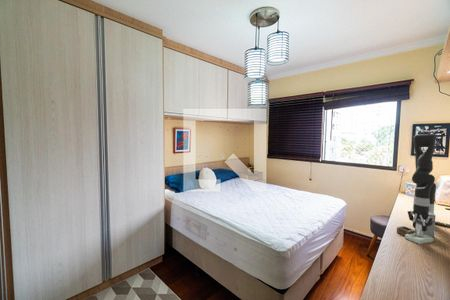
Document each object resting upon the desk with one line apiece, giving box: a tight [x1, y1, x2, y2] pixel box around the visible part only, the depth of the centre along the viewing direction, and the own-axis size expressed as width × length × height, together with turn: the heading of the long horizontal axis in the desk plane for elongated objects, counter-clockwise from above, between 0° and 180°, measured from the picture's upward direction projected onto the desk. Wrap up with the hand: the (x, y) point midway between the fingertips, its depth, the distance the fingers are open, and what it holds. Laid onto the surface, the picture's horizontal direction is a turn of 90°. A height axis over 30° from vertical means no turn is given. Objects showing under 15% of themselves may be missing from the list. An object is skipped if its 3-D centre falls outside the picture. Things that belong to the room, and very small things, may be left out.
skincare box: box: [418, 212, 437, 238], centre depth 141 cm, size 8×7×16 cm
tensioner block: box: [396, 226, 415, 237], centre depth 142 cm, size 7×7×4 cm
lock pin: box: [414, 220, 424, 238], centre depth 134 cm, size 5×5×10 cm
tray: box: [404, 233, 434, 245], centre depth 134 cm, size 13×8×2 cm, turn 105°
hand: (419, 229), depth 134 cm, fingers closed on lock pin, 4 cm apart
